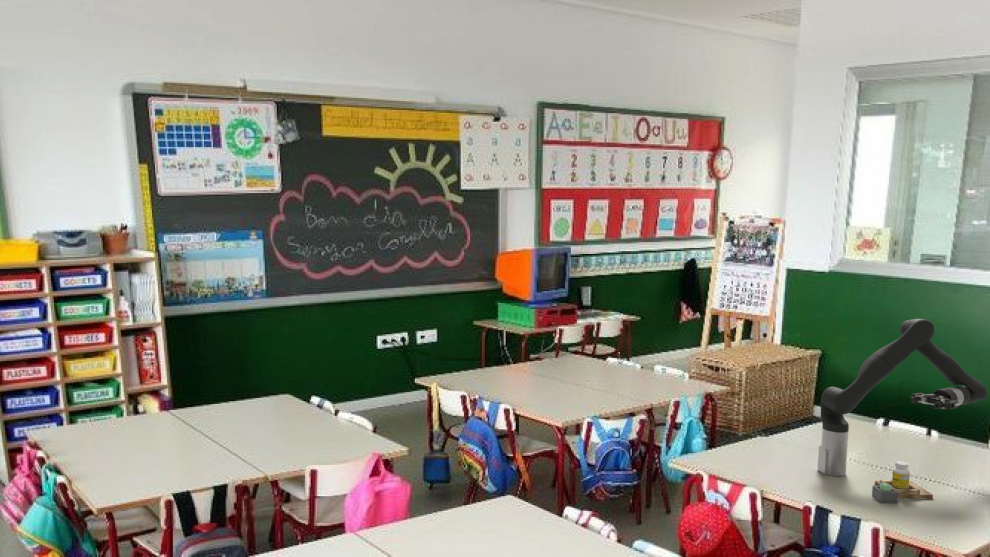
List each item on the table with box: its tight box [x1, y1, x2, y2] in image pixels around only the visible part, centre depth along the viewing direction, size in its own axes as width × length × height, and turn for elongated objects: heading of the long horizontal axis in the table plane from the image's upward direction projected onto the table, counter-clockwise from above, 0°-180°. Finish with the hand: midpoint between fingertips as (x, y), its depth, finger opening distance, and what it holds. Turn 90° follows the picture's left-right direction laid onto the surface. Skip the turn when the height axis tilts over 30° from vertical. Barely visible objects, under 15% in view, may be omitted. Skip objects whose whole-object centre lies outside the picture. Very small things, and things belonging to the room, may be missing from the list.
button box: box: [871, 485, 899, 504], centre depth 262 cm, size 6×6×4 cm
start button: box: [880, 483, 891, 491], centre depth 262 cm, size 4×4×3 cm
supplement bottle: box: [891, 460, 911, 489], centre depth 268 cm, size 5×5×10 cm
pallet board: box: [874, 479, 934, 500], centre depth 270 cm, size 14×13×3 cm
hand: (923, 403), depth 271 cm, fingers open, 8 cm apart
